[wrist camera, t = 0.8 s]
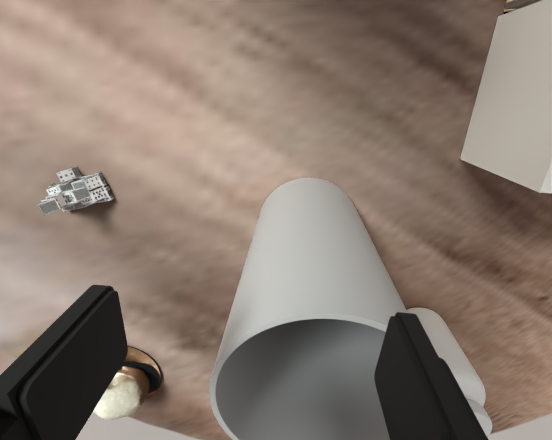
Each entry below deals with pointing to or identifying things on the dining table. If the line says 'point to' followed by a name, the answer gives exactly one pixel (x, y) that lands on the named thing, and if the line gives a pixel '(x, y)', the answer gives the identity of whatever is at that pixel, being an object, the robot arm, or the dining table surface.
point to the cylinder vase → (306, 324)
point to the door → (519, 4)
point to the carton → (516, 101)
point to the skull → (129, 386)
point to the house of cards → (75, 191)
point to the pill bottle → (455, 363)
